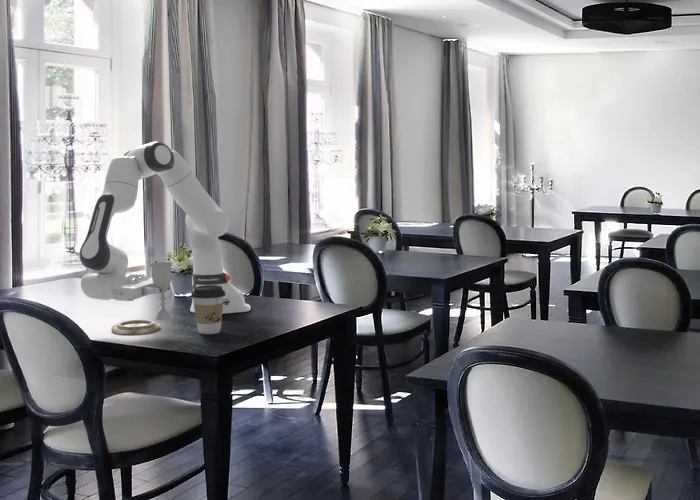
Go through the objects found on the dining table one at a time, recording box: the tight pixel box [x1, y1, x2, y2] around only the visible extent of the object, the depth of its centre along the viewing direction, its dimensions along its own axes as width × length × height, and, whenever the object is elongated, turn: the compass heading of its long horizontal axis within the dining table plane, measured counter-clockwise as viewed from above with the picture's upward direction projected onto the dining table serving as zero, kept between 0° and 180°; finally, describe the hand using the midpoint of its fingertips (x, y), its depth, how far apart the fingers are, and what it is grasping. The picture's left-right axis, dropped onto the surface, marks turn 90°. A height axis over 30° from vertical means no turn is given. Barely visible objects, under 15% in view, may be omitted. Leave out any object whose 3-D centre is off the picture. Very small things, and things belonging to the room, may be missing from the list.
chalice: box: [149, 261, 174, 321], centre depth 274 cm, size 7×7×18 cm
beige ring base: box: [111, 318, 161, 336], centre depth 287 cm, size 16×16×2 cm
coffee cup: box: [190, 285, 226, 335], centre depth 282 cm, size 11×11×15 cm
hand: (164, 289), depth 273 cm, fingers closed on chalice, 5 cm apart
